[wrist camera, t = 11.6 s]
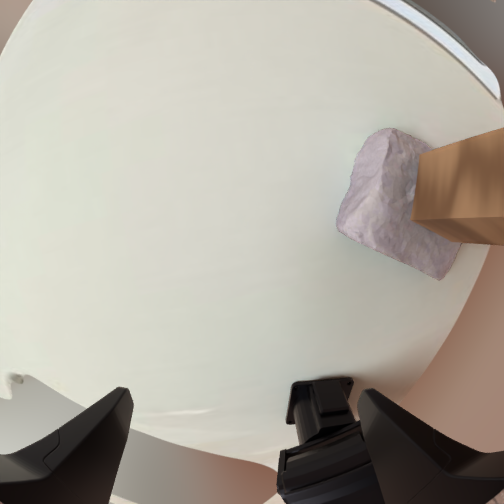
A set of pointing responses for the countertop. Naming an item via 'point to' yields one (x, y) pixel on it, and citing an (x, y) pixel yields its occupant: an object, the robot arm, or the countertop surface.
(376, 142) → the lilac crinkled slab
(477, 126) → the countertop surface
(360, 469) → the robot arm
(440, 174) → the walnut block
